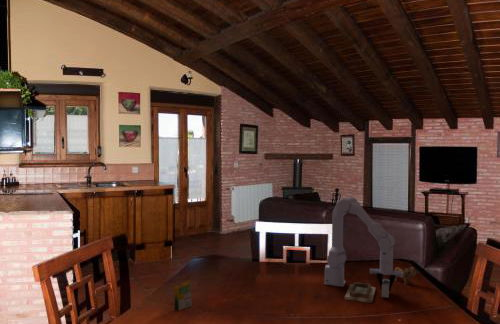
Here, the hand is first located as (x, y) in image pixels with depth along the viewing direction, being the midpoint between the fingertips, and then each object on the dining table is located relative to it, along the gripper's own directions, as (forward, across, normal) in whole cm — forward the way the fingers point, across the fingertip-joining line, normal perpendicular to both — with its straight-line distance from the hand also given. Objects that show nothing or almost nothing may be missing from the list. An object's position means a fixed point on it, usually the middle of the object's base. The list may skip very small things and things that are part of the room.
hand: (385, 290), depth 196 cm
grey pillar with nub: (+1, 0, 0) cm, 1 cm away
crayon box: (+3, -80, -47) cm, 93 cm away
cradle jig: (+2, -11, -3) cm, 12 cm away
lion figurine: (+3, +7, +23) cm, 24 cm away
